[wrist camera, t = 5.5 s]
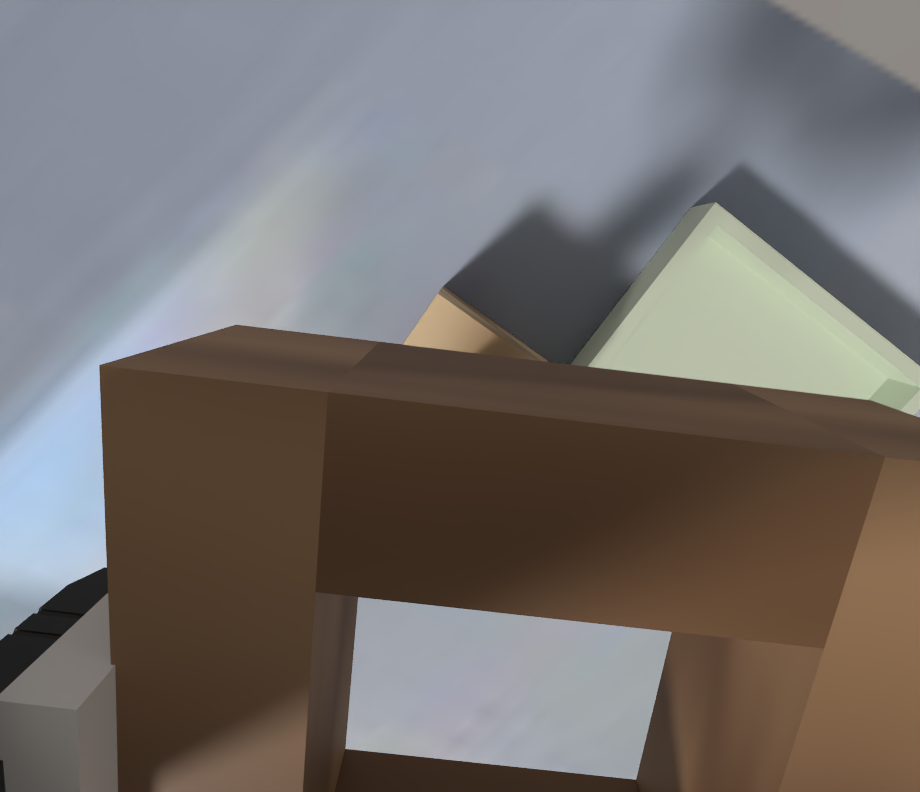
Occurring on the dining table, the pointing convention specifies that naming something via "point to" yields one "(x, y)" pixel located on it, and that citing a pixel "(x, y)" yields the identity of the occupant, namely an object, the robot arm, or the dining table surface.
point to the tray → (745, 321)
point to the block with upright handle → (465, 330)
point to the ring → (502, 558)
